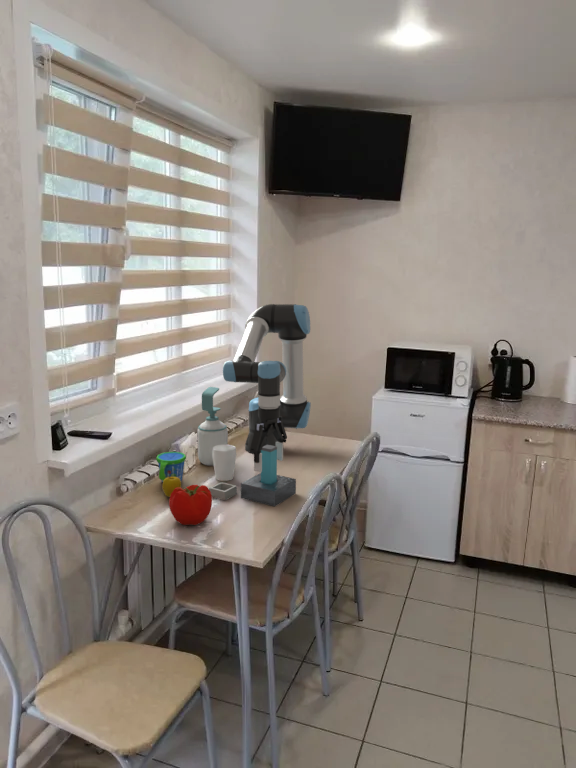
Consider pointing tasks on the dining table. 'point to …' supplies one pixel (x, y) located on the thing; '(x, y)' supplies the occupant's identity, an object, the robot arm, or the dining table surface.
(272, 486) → the port
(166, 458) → the snack cup
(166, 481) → the apple
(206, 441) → the soap bottle
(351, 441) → the dining table surface
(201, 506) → the tomato
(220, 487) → the holster
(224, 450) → the cup
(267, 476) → the plug
